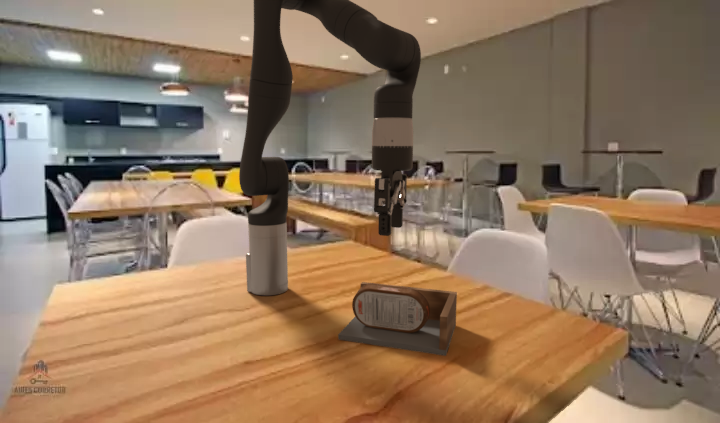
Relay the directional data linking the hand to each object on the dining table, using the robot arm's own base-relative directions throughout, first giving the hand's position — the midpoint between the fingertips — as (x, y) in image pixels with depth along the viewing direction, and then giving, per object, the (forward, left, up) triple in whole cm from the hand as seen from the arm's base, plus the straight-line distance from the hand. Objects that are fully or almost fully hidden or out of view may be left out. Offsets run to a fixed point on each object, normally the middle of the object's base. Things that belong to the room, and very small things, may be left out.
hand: (391, 231), depth 83 cm
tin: (0, -1, -19) cm, 19 cm away
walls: (+2, +1, -20) cm, 20 cm away
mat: (+2, +1, -20) cm, 20 cm away
